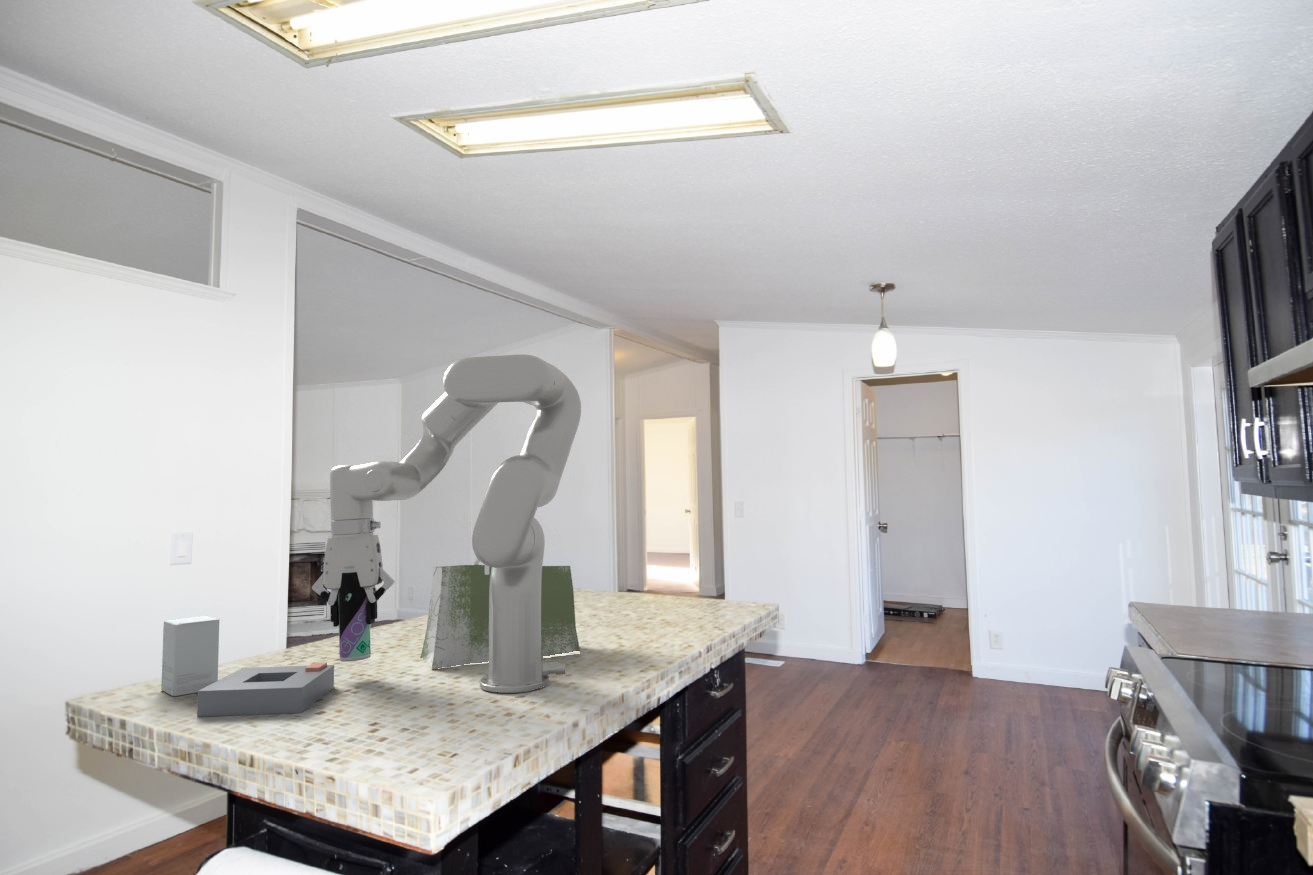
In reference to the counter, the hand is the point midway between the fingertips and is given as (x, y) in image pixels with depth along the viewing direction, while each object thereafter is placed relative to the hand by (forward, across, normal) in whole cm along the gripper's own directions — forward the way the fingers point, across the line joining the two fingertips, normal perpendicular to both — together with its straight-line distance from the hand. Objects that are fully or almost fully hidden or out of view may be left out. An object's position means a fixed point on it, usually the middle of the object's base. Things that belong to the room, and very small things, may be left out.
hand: (354, 623), depth 143 cm
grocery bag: (+12, -25, -18) cm, 33 cm away
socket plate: (+10, +10, +13) cm, 19 cm away
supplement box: (+10, +28, +3) cm, 30 cm away
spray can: (+7, 0, 0) cm, 7 cm away
